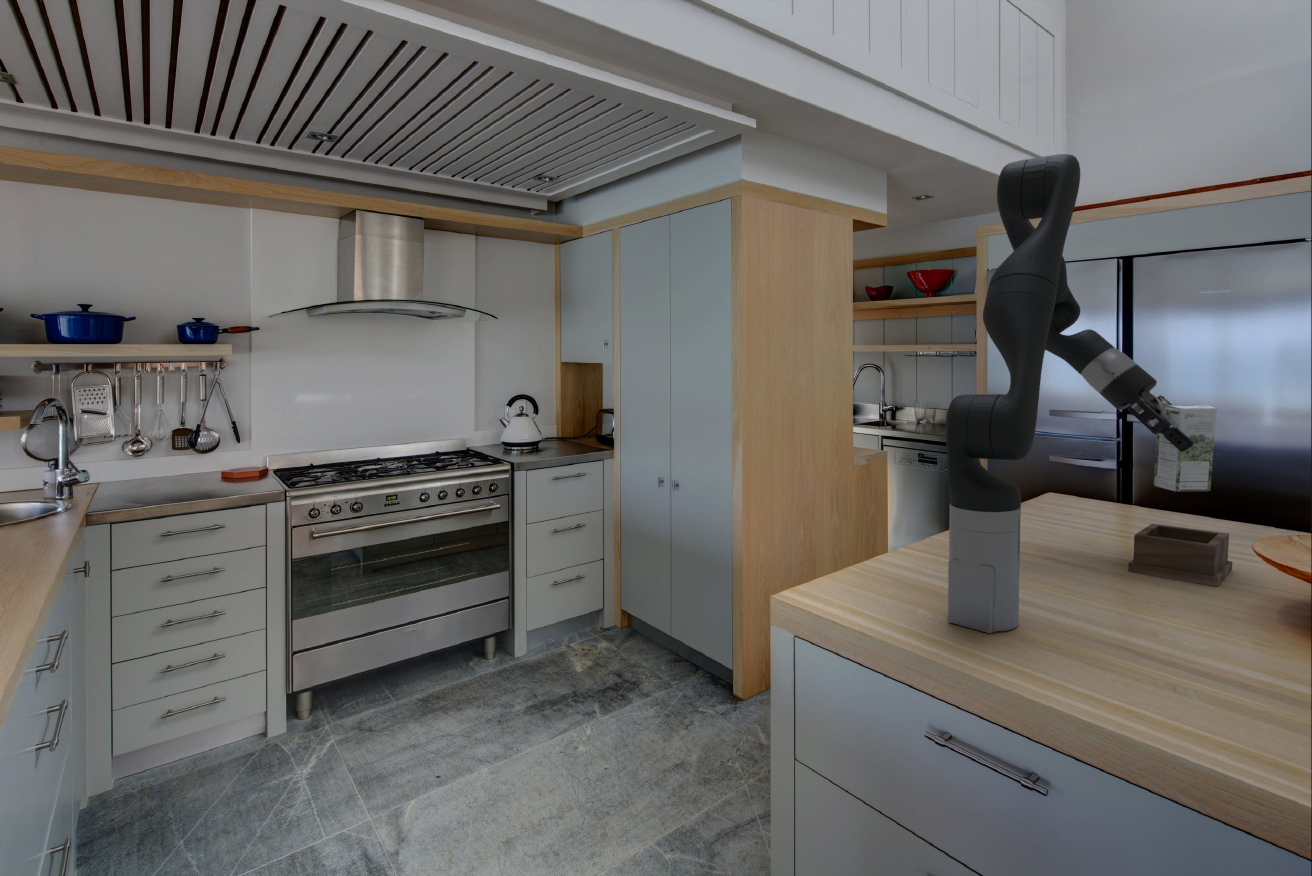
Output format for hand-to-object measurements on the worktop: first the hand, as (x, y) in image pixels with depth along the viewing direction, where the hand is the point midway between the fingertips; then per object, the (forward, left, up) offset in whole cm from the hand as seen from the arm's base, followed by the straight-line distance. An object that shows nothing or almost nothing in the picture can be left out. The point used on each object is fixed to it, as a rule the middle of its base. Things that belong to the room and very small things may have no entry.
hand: (1194, 445), depth 110 cm
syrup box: (0, +1, -8) cm, 8 cm away
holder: (0, +1, -22) cm, 22 cm away
